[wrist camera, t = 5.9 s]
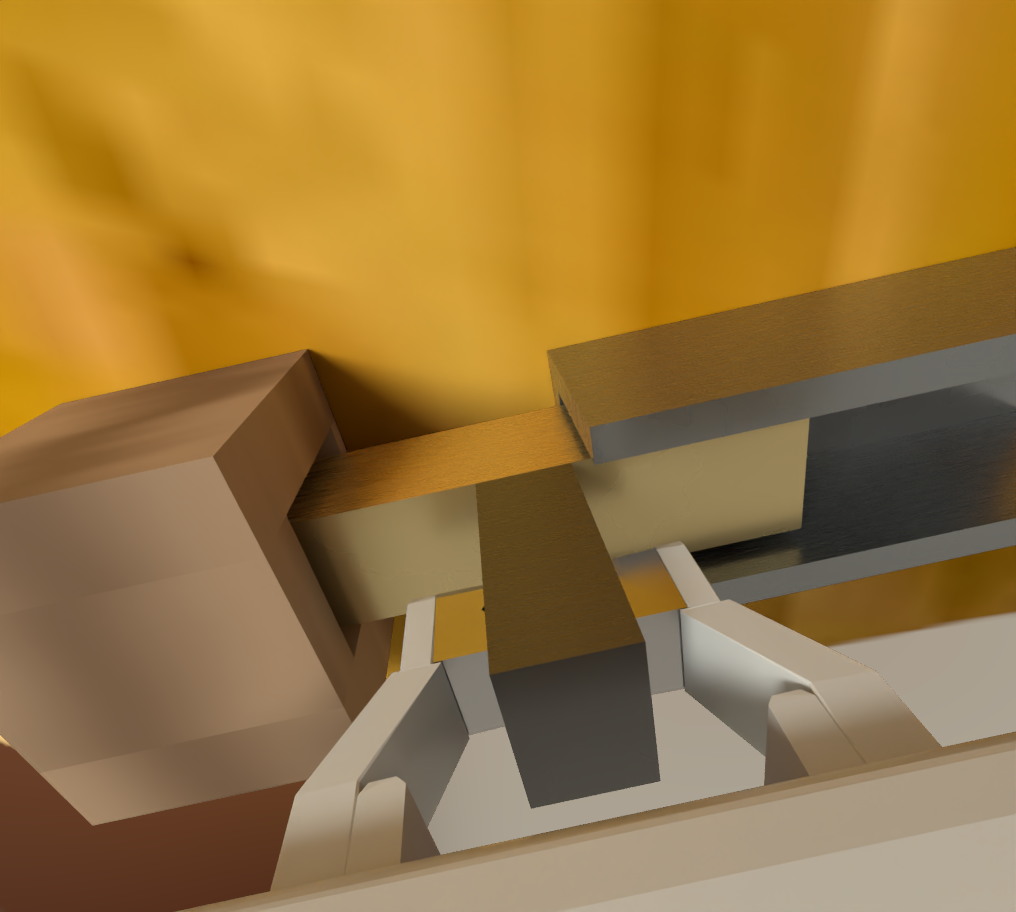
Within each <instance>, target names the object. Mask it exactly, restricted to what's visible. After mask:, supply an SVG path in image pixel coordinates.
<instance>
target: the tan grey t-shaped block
mask: <svg viewBox="0 0 1016 912" xmlns="http://www.w3.org/2000/svg"><path fill="white" fill-rule="evenodd" d="M809 419H810V418H807V419H802V420H798V421H793V422H789V423H784V424H780V425H775V426H770V427H766V428H761V429H757V430H752V431H748V432H743V433H738V434H734V435H729V436H725V437H720V438H716V439H711V440H706V441H702V442H697V443H693V444H688V445H684V446H679V447H674V448H670V449H665V450H661V451H656V452H652V453H647V454H642V455H638V456H633V457H629V458H624V459H620V460H615V461H610V462H606V463H601V464H597V465H595V464H594V462H593V460H592V458H591V456H590V454H589V452H588V450H587V448H586V446H585V444H584V442H583V440H582V438H581V436H580V435H579V433H578V431H577V429H576V427H575V425H574V423H573V421H572V419H571V417H570V415H569V413H568V411H567V409H566V407H565V405H560V406H555V407H551V408H546V409H541V410H537V411H532V412H528V413H523V414H519V415H514V416H510V417H505V418H501V419H496V420H491V421H487V422H482V423H478V424H473V425H469V426H464V427H460V428H455V429H451V430H446V431H441V432H437V433H432V434H428V435H423V436H419V437H414V438H410V439H405V440H401V441H396V442H392V443H387V444H382V445H378V446H373V447H369V448H364V449H360V450H355V451H351V452H346V453H342V454H337V455H332V456H328V457H323V458H319V459H315V460H314V462H313V463H312V465H311V467H310V469H309V471H308V473H307V475H306V477H305V479H304V481H303V483H302V485H301V487H300V489H299V491H298V493H297V495H296V497H295V499H294V501H293V503H292V505H291V507H290V509H289V511H288V513H287V518H288V520H289V522H290V524H291V526H292V528H293V530H294V532H295V534H296V536H297V539H298V541H299V543H300V545H301V547H302V549H303V551H304V553H305V555H306V557H307V560H308V562H309V564H310V566H311V568H312V570H313V572H314V574H315V576H316V578H317V581H318V583H319V585H320V587H321V589H322V591H323V593H324V595H325V597H326V599H327V602H328V604H329V606H330V608H331V610H332V612H333V614H334V616H335V618H336V620H337V623H338V625H339V627H340V628H344V627H348V626H353V625H357V624H362V623H367V622H371V621H376V620H380V619H385V618H390V617H394V616H399V615H404V614H406V613H407V606H408V604H409V602H410V600H411V599H416V598H421V597H426V596H432V595H437V594H439V593H445V592H450V591H455V590H460V589H465V588H470V587H475V586H480V585H483V595H484V609H485V623H486V637H487V651H488V664H489V676H490V679H491V682H492V685H493V689H494V692H495V695H496V698H497V701H498V705H499V708H500V711H501V714H502V717H503V721H504V724H505V727H506V730H507V733H508V737H509V740H510V743H511V746H512V749H513V753H514V756H515V759H516V762H517V765H518V768H519V772H520V775H521V778H522V781H523V784H524V788H525V791H526V794H527V797H528V801H529V804H530V807H531V808H536V807H540V806H545V805H550V804H555V803H560V802H564V801H569V800H574V799H578V798H583V797H587V796H592V795H597V794H601V793H606V792H611V791H616V790H621V789H625V788H630V787H635V786H640V785H644V784H649V783H654V782H658V781H660V774H659V764H658V755H657V745H656V736H655V727H654V717H653V708H652V699H651V689H650V680H649V670H648V661H647V652H646V642H645V639H644V637H643V634H642V632H641V630H640V627H639V625H638V622H637V620H636V618H635V615H634V613H633V611H632V608H631V606H630V603H629V601H628V599H627V596H626V594H625V591H624V589H623V587H622V584H621V582H620V580H619V577H618V575H617V572H616V570H615V568H614V565H613V563H612V560H611V558H610V557H614V556H618V555H623V554H627V553H631V552H636V551H640V550H645V549H649V548H653V547H655V546H659V545H663V544H667V543H672V542H676V541H681V542H683V543H684V544H685V546H686V547H687V549H688V550H689V552H694V551H699V550H703V549H708V548H713V547H717V546H722V545H726V544H731V543H736V542H740V541H745V540H750V539H754V538H759V537H763V536H768V535H773V534H777V533H782V532H786V531H791V530H796V529H800V528H801V525H802V512H803V499H804V486H805V472H806V459H807V446H808V433H809Z"/></svg>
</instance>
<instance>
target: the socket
mask: <svg viewBox="0 0 1016 912" xmlns="http://www.w3.org/2000/svg"><path fill="white" fill-rule="evenodd" d="M346 452H347V451H346V448H345V445H344V443H343V440H342V438H341V435H340V432H339V430H338V427H337V425H336V422H335V419H334V417H333V414H332V412H331V409H330V406H329V404H328V401H327V399H326V396H325V393H324V391H323V388H322V386H321V383H320V380H319V378H318V375H317V373H316V370H315V367H314V365H313V362H312V360H311V357H310V354H309V352H308V349H306V350H301V351H297V352H292V353H288V354H283V355H279V356H274V357H270V358H265V359H261V360H256V361H252V362H247V363H243V364H238V365H234V366H229V367H225V368H220V369H216V370H211V371H207V372H202V373H198V374H193V375H189V376H184V377H180V378H175V379H171V380H166V381H162V382H157V383H153V384H148V385H144V386H139V387H135V388H130V389H126V390H121V391H117V392H112V393H108V394H103V395H99V396H94V397H90V398H85V399H81V400H76V401H72V402H67V403H63V404H59V405H58V406H56V407H54V408H52V409H50V410H49V411H47V412H45V413H43V414H42V415H40V416H38V417H36V418H34V419H33V420H31V421H29V422H27V423H25V424H24V425H22V426H20V427H18V428H17V429H15V430H13V431H11V432H9V433H8V434H6V435H4V436H2V437H0V735H1V736H2V737H3V738H4V739H5V740H6V741H7V742H8V743H9V744H10V745H11V746H12V747H13V748H14V749H15V750H16V751H17V752H18V753H19V754H20V755H21V756H22V757H23V758H24V759H25V760H26V761H27V762H29V764H30V765H31V766H32V767H34V768H35V769H36V770H37V771H38V772H39V773H40V774H41V775H42V776H43V777H44V778H45V779H46V780H47V781H48V782H49V783H50V784H51V785H52V786H53V787H54V788H55V789H56V790H57V791H58V792H59V793H60V794H61V795H62V796H63V797H64V798H65V799H66V800H67V801H69V803H70V804H71V805H73V807H74V808H75V809H76V810H77V811H78V812H80V813H81V814H82V815H83V816H84V817H85V818H86V819H87V820H88V821H89V822H90V823H91V824H92V825H97V824H101V823H106V822H111V821H116V820H120V819H125V818H130V817H134V816H139V815H144V814H148V813H153V812H158V811H162V810H167V809H172V808H176V807H181V806H186V805H190V804H195V803H199V802H204V801H209V800H214V799H218V798H223V797H228V796H233V795H237V794H242V793H246V792H251V791H256V790H261V789H265V788H270V787H274V786H279V785H284V784H288V783H293V782H298V781H302V780H307V779H309V777H310V776H311V775H312V774H313V772H314V771H315V770H316V768H317V767H318V766H319V765H320V763H321V762H322V761H323V760H324V758H325V757H326V756H327V755H328V753H329V752H330V751H331V749H332V748H333V747H334V746H335V744H336V743H337V742H338V741H339V739H340V738H341V737H342V736H343V734H344V733H345V732H346V730H347V729H348V728H349V727H350V725H351V724H352V723H353V722H354V720H355V719H356V718H357V716H358V715H359V714H360V713H361V711H362V710H363V709H364V708H365V706H366V705H367V704H368V703H369V701H370V700H371V699H372V697H373V696H374V695H375V694H376V692H377V691H378V690H379V689H380V687H381V686H382V685H383V683H384V682H385V681H386V674H387V666H388V659H389V652H390V645H391V637H392V630H393V623H394V617H390V618H385V619H380V620H376V621H371V622H367V623H362V624H357V625H353V626H348V627H344V628H340V627H339V625H338V623H337V620H336V618H335V616H334V614H333V612H332V610H331V608H330V606H329V604H328V602H327V599H326V597H325V595H324V593H323V591H322V589H321V587H320V585H319V583H318V581H317V578H316V576H315V574H314V572H313V570H312V568H311V566H310V564H309V562H308V560H307V557H306V555H305V553H304V551H303V549H302V547H301V545H300V543H299V541H298V539H297V536H296V534H295V532H294V530H293V528H292V526H291V524H290V522H289V520H288V518H287V513H288V511H289V509H290V507H291V505H292V503H293V501H294V499H295V497H296V495H297V493H298V491H299V489H300V487H301V485H302V483H303V481H304V479H305V477H306V475H307V473H308V471H309V469H310V467H311V465H312V463H313V462H314V460H315V459H319V458H323V457H328V456H332V455H337V454H342V453H346Z"/></svg>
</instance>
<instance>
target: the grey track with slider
mask: <svg viewBox="0 0 1016 912" xmlns="http://www.w3.org/2000/svg"><path fill="white" fill-rule="evenodd" d="M547 354H548V360H549V366H550V372H551V378H552V384H553V390H554V396H555V402H556V406H560V405H565V407H566V409H567V411H568V413H569V415H570V417H571V419H572V421H573V423H574V425H575V427H576V429H577V431H578V433H579V435H580V436H581V438H582V440H583V442H584V444H585V446H586V448H587V450H588V452H589V454H590V456H591V458H592V460H593V462H594V464H595V465H597V464H601V463H606V462H610V461H615V460H620V459H624V458H629V457H633V456H638V455H642V454H647V453H652V452H656V451H661V450H665V449H670V448H674V447H679V446H684V445H688V444H693V443H697V442H702V441H706V440H711V439H716V438H720V437H725V436H729V435H734V434H738V433H743V432H748V431H752V430H757V429H761V428H766V427H770V426H775V425H780V424H784V423H789V422H793V421H798V420H802V419H807V418H810V419H809V433H808V446H807V459H806V472H805V486H804V499H803V512H802V525H801V528H800V529H796V530H791V531H786V532H782V533H777V534H773V535H768V536H763V537H759V538H754V539H750V540H745V541H740V542H736V543H731V544H726V545H722V546H717V547H713V548H708V549H703V550H699V551H694V552H690V553H691V555H692V557H693V558H694V560H695V561H696V563H697V564H698V566H699V567H700V569H701V570H702V572H703V573H704V575H705V576H706V578H707V579H708V581H709V583H710V584H711V586H712V587H713V589H714V590H715V592H716V593H717V595H718V596H719V598H720V599H721V601H724V600H729V599H731V600H733V601H735V602H737V603H739V604H745V603H749V602H754V601H759V600H763V599H768V598H773V597H777V596H782V595H786V594H791V593H796V592H800V591H805V590H810V589H814V588H819V587H824V586H828V585H833V584H838V583H842V582H847V581H851V580H856V579H861V578H865V577H870V576H875V575H879V574H884V573H889V572H893V571H898V570H902V569H907V568H912V567H916V566H921V565H926V564H930V563H935V562H940V561H944V560H949V559H954V558H958V557H963V556H967V555H972V554H977V553H981V552H986V551H991V550H995V549H1000V548H1005V547H1009V546H1014V545H1016V247H1014V248H1009V249H1005V250H1000V251H996V252H991V253H987V254H982V255H978V256H973V257H969V258H964V259H960V260H955V261H951V262H946V263H942V264H937V265H932V266H928V267H923V268H919V269H914V270H910V271H905V272H901V273H896V274H892V275H887V276H883V277H878V278H874V279H869V280H865V281H860V282H856V283H851V284H847V285H842V286H838V287H833V288H829V289H824V290H819V291H815V292H810V293H806V294H801V295H797V296H792V297H788V298H783V299H779V300H774V301H770V302H765V303H761V304H756V305H752V306H747V307H743V308H738V309H734V310H729V311H725V312H720V313H715V314H711V315H706V316H702V317H697V318H693V319H688V320H684V321H679V322H675V323H670V324H666V325H661V326H657V327H652V328H648V329H643V330H639V331H634V332H630V333H625V334H621V335H616V336H612V337H607V338H602V339H598V340H593V341H589V342H584V343H580V344H575V345H571V346H566V347H562V348H557V349H553V350H548V351H547Z"/></svg>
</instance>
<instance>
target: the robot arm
mask: <svg viewBox="0 0 1016 912" xmlns="http://www.w3.org/2000/svg"><path fill="white" fill-rule="evenodd" d="M610 558H611V560H612V563H613V565H614V568H615V570H616V572H617V575H618V577H619V580H620V582H621V584H622V587H623V589H624V591H625V594H626V596H627V599H628V601H629V603H630V606H631V608H632V611H633V613H634V615H635V618H636V620H637V622H638V625H639V627H640V630H641V632H642V634H643V637H644V639H645V642H646V652H647V661H648V670H649V680H650V689H651V695H653V694H658V693H664V692H669V691H674V690H679V689H685V691H686V692H687V693H688V694H689V695H691V696H692V697H693V698H695V700H697V701H698V702H699V703H700V704H702V705H703V706H704V707H705V708H707V709H708V710H709V711H710V712H711V713H713V714H714V715H715V716H716V717H718V718H719V719H720V720H721V721H722V722H724V723H725V724H726V725H727V726H729V727H730V728H731V729H732V730H734V731H735V732H736V733H737V734H738V735H740V736H741V737H742V738H743V739H744V740H746V741H747V742H748V743H750V744H751V745H752V746H753V747H754V748H756V749H757V750H758V751H759V752H760V753H762V754H763V755H764V756H765V757H766V762H765V780H764V786H760V787H756V788H751V789H746V790H742V791H737V792H733V793H728V794H723V795H719V796H714V797H709V798H705V799H700V800H695V801H691V802H686V803H681V804H677V805H673V806H667V807H663V808H658V809H654V810H649V811H644V812H640V813H636V814H631V815H626V816H621V817H617V818H612V819H607V820H602V821H598V822H593V823H588V824H583V825H579V826H574V827H570V828H565V829H560V830H555V831H551V832H546V833H541V834H537V835H533V836H527V837H523V838H518V839H513V840H509V841H504V842H499V843H495V844H490V845H485V846H481V847H476V848H471V849H467V850H462V851H457V852H452V853H448V854H443V855H440V853H439V850H438V849H437V846H436V845H435V842H434V840H433V838H432V836H431V834H430V832H429V830H428V828H427V827H428V825H429V822H430V821H431V819H432V817H433V814H434V812H435V810H436V807H437V806H438V804H439V802H440V800H441V798H442V795H443V793H444V791H445V789H446V787H447V785H448V783H449V780H450V778H451V776H452V774H453V772H454V770H455V768H456V766H457V764H458V761H459V759H460V757H461V755H462V753H463V751H464V749H465V747H466V745H467V743H468V740H469V736H468V735H472V734H476V733H480V732H484V731H488V730H492V729H496V728H500V727H504V726H505V724H504V721H503V717H502V714H501V711H500V708H499V705H498V701H497V698H496V695H495V692H494V689H493V685H492V682H491V679H490V676H489V664H488V651H487V637H486V623H485V609H484V595H483V585H480V586H475V587H470V588H465V589H460V590H455V591H450V592H445V593H439V594H437V595H432V596H426V597H421V598H416V599H411V600H410V602H409V604H408V606H407V613H406V622H405V631H404V640H403V649H402V658H401V667H400V671H398V672H394V673H391V675H390V676H389V677H388V678H387V680H386V681H385V682H384V683H383V685H382V686H381V687H380V689H379V690H378V691H377V692H376V694H375V695H374V696H373V697H372V699H371V700H370V701H369V703H368V704H367V705H366V706H365V708H364V709H363V710H362V711H361V713H360V714H359V715H358V716H357V718H356V719H355V720H354V722H353V723H352V724H351V725H350V727H349V728H348V729H347V730H346V732H345V733H344V734H343V736H342V737H341V738H340V739H339V741H338V742H337V743H336V744H335V746H334V747H333V748H332V749H331V751H330V752H329V753H328V755H327V756H326V757H325V758H324V760H323V761H322V762H321V763H320V765H319V766H318V767H317V768H316V770H315V771H314V772H313V774H312V775H311V776H310V777H309V779H308V780H307V781H306V783H305V784H304V785H303V786H302V788H301V789H300V790H299V791H298V793H297V794H296V795H295V799H294V803H293V807H292V810H291V814H290V818H289V822H288V825H287V829H286V833H285V837H284V841H283V844H282V848H281V852H280V856H279V860H278V863H277V867H276V871H275V875H274V879H273V882H272V886H271V890H270V892H265V893H261V894H257V895H251V896H247V897H242V898H237V899H233V900H228V901H224V902H219V903H215V904H209V905H205V906H200V907H195V908H191V909H186V910H181V911H177V912H1016V732H1012V733H1007V734H1003V735H998V736H994V737H989V738H984V739H979V740H975V741H970V742H965V743H961V744H956V745H951V746H947V747H942V746H940V744H939V743H938V742H937V741H936V740H935V739H934V737H933V736H932V735H931V734H930V733H929V732H928V730H927V729H926V728H925V727H924V726H923V725H922V723H920V721H919V720H918V719H917V718H916V717H915V715H914V714H913V713H912V712H911V711H910V710H909V708H908V707H907V706H906V705H905V704H904V703H903V702H902V700H901V699H900V698H899V697H898V696H897V695H896V693H895V692H894V691H893V690H892V689H891V688H890V687H889V686H888V684H887V683H886V682H885V681H884V680H883V679H882V677H881V676H880V675H879V674H878V673H877V672H876V671H875V670H873V669H871V668H869V667H867V666H865V665H863V664H861V663H859V662H856V661H854V660H853V659H850V658H848V657H846V656H844V655H842V654H840V653H838V652H836V651H834V650H832V649H830V648H828V647H826V646H824V645H822V644H820V643H818V642H816V641H814V640H812V639H810V638H808V637H806V636H804V635H802V634H800V633H798V632H796V631H794V630H792V629H790V628H787V627H785V626H783V625H781V624H779V623H777V622H775V621H773V620H771V619H769V618H767V617H765V616H763V615H761V614H759V613H757V612H755V611H753V610H751V609H749V608H747V607H745V606H743V605H741V604H739V603H737V602H735V601H733V600H731V599H729V600H724V601H721V599H720V598H719V596H718V595H717V593H716V592H715V590H714V589H713V587H712V586H711V584H710V583H709V581H708V579H707V578H706V576H705V575H704V573H703V572H702V570H701V569H700V567H699V566H698V564H697V563H696V561H695V560H694V558H693V557H692V555H691V553H690V552H689V550H688V549H687V547H686V546H685V544H684V543H683V542H681V541H676V542H672V543H667V544H663V545H659V546H655V547H653V548H649V549H645V550H640V551H636V552H631V553H627V554H623V555H618V556H614V557H610Z"/></svg>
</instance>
